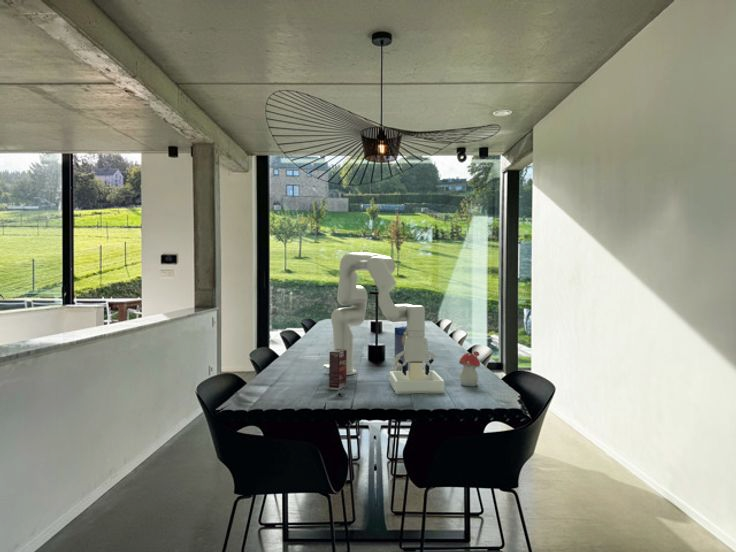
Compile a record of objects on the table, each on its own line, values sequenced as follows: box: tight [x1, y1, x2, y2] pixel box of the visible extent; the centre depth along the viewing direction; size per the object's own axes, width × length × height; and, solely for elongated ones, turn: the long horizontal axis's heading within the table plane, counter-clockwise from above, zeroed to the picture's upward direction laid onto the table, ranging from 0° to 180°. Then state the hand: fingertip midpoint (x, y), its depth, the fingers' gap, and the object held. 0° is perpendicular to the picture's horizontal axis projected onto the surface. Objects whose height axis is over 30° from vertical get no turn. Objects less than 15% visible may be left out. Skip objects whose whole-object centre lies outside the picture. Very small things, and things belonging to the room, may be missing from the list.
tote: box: [389, 370, 445, 395], centre depth 230 cm, size 20×22×5 cm
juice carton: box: [408, 362, 424, 381], centre depth 230 cm, size 6×6×10 cm
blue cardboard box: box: [394, 325, 408, 371], centre depth 264 cm, size 7×11×22 cm, turn 142°
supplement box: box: [328, 349, 347, 391], centre depth 230 cm, size 9×5×16 cm, turn 160°
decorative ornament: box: [458, 350, 481, 387], centre depth 234 cm, size 9×7×15 cm
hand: (415, 374), depth 230 cm, fingers open, 9 cm apart
